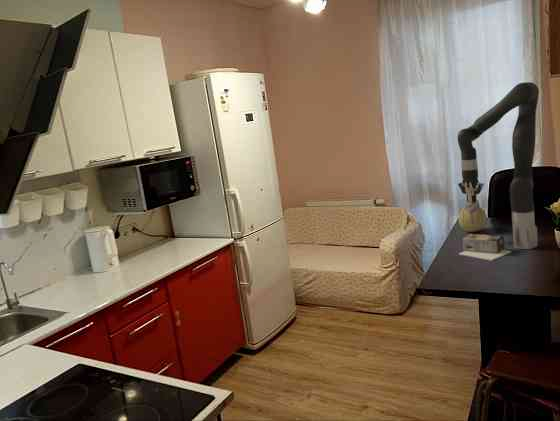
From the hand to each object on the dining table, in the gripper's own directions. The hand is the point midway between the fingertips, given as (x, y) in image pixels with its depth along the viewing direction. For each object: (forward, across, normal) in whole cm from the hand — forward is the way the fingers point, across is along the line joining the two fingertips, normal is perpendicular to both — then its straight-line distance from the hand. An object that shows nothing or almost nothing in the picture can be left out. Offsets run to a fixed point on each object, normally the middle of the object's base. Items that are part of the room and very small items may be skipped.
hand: (471, 202), depth 230 cm
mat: (+21, -16, +14) cm, 29 cm away
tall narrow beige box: (+5, 0, -1) cm, 5 cm away
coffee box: (+17, -5, +13) cm, 22 cm away
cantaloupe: (+21, +12, -16) cm, 29 cm away
